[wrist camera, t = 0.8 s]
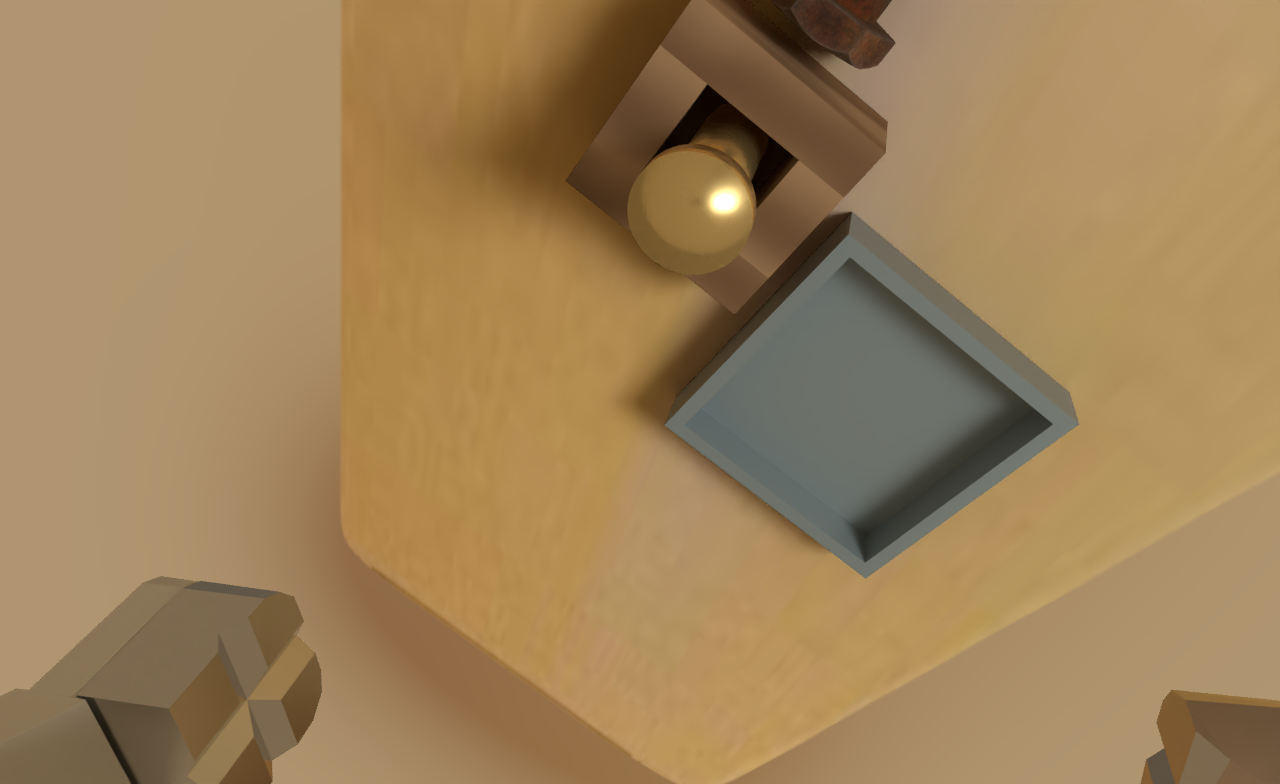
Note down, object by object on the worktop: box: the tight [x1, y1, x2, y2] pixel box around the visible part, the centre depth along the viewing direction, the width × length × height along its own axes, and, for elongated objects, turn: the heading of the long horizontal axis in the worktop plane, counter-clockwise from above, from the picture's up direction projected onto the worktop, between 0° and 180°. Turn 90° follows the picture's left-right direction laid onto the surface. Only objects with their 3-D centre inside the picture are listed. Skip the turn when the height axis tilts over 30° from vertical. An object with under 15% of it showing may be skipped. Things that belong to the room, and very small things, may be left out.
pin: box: [627, 103, 769, 275], centre depth 39 cm, size 5×5×11 cm
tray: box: [665, 212, 1079, 578], centre depth 47 cm, size 15×15×3 cm
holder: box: [566, 0, 888, 315], centre depth 41 cm, size 10×10×5 cm
